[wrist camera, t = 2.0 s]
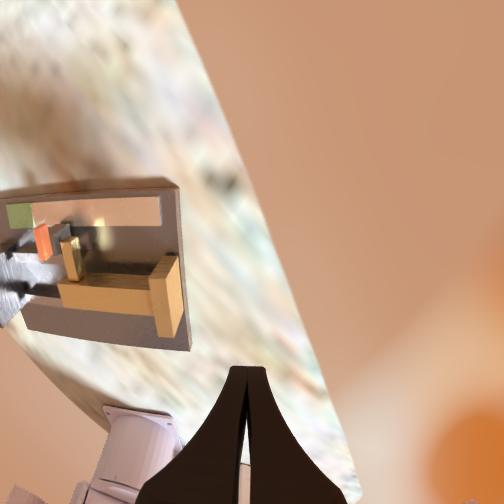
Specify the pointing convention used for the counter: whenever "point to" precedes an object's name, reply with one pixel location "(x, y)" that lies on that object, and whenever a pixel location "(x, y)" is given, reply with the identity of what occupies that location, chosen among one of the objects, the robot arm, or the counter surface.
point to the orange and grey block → (50, 239)
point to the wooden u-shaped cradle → (124, 290)
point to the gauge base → (90, 260)
